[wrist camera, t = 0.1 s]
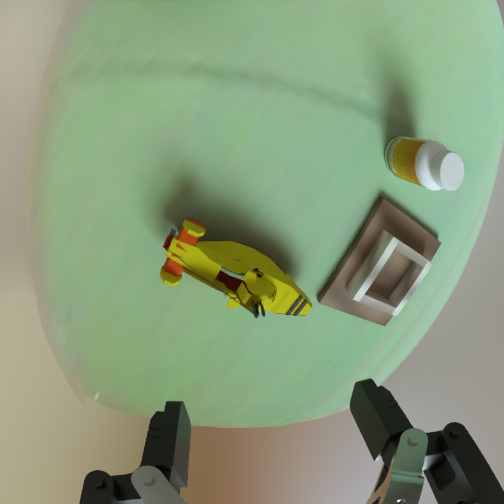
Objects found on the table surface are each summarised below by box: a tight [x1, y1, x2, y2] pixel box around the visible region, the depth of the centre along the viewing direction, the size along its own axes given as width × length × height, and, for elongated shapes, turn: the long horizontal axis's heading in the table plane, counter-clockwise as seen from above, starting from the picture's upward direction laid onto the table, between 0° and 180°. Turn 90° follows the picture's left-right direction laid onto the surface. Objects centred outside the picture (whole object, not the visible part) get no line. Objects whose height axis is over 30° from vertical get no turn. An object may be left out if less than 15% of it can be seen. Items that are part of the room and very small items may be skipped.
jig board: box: [317, 197, 441, 326], centre depth 34 cm, size 16×14×4 cm
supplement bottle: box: [385, 136, 464, 191], centre depth 24 cm, size 5×5×10 cm
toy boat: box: [160, 218, 312, 318], centre depth 28 cm, size 6×18×10 cm, turn 60°
